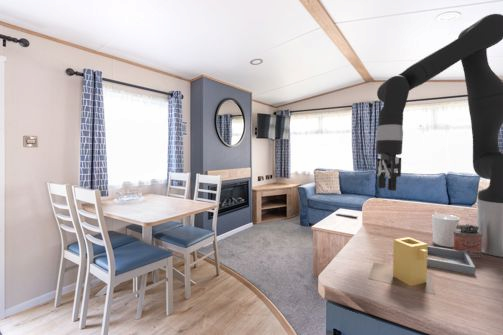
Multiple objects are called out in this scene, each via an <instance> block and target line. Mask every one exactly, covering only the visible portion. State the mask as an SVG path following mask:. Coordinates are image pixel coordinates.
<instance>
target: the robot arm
mask: <svg viewBox="0 0 503 335" xmlns="http://www.w3.org/2000/svg"><path fill="white" fill-rule="evenodd" d="M502 40H503V14H502V13H491V14H488V15H485V16H482V17H481V18H479V19H478V20H476V21H475V22H473V23H471V24H469V25H468V26H466V27H465V28H464V29H462V30H461V32H459V34H458V37H457V39H454V40H453V41H451V42H449V43H448V44H446V45H445V46H443V47H441V48H438V50H435V51H433V52H432V53H430V54H428V55H426V56H425V57H423V58H421V59H420V60H418V61H417V62H415V63H413V64H411V65H410V66H408V67H407V68H406V69H404V70H403V71H402V72H400V73H399V74H398V75H394V76H391V77H390V78H388V79H387V80H386V81H384V82H383V83H381V84H380V86H379V87H378V88H377V92H376V96H377V99H378V100H379V101H380V102H382V103H383V106H382V108H381V109H380V110H379V112H378V113H379V114H378V124H377V131H376V139H375V140H376V142H375V143H376V144H375V153H376V155H380V157H377V158H376V168H375V175H377V178H378V180H377V187H378V189H385V188H386V185H387V190H388V191H396V190H397V180H398V179H399V178H400V177H401V176H402V157H401V156H400V155H402V154H403V140H404V130H403V128H404V127H403V124H404V123H403V122H404V111H405V108H406V105H407V103H408V102H407V101H408V97H409V93H410V91H411V90H413V89H416V88H417V87H420V86H422V85H424V84H425V83H427V82H428V81H430V80H431V79H433V78H435V77H436V76H438V75H439V74H441V73H442V72H444V71H446V70H447V69H449V68H450V67H452V66H454V65H455V64H457V63H458V62H459V61H461V66H462V70H463V73H464V80H465V86H466V92H467V104H468V111H469V117H470V123H471V134H472V167H473V170H474V172H475V173H476V175H477V176H478V177H480V178H483V179H488V180H489V185H488V186H487V187H486V188H484V189H481V190H479V191H478V193H477V211H476V226H479V229H478V232H482V233H483V236H482V246H481V253H482V254H483V253H484V254H485V255H486V254H487V255H489V256H495V257H500V258H503V151H500V148H499V134H500V130H501V128H502V126H503V81H502V79H501V78H500V77H499V76H498V75H497V74H496V73H495V71H493V69H492V68H491V66H490V65H489V59H488V53H487V52H488V51H487V50H488V49H489V48H491V47H493V46H495V45H497V44H498V43H500V42H501V41H502ZM387 177H388V178H387ZM386 179H387V180H386ZM386 182H387V183H386Z"/></svg>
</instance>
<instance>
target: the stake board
mask: <svg viewBox="0 0 503 335" xmlns="http://www.w3.org/2000/svg"><path fill="white" fill-rule="evenodd" d="M410 245H413V244H410ZM368 280H372V281H376V282H379V283H380V282H381V283H384V284H390V285H393V286H397V287H401V288H406V289H409V290H414V291H419V292H421V293H427V294H430V295H436V294H435V288H434V281H433V276H432V273H429V272H427V280H426V282H425V283H421V284H417V285H413V286H410V285H408V284H406V283H405V282H403V281H401V280H399V279H398V278H396V277H394V276H393V265H391V264H384V263H380V262H373V263H372V267H371V269H370V273H369V277H368Z"/></svg>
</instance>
